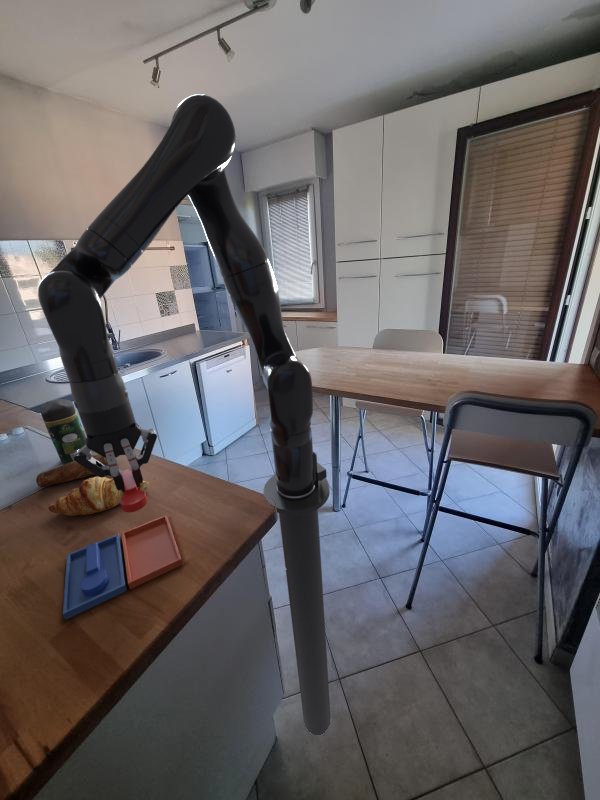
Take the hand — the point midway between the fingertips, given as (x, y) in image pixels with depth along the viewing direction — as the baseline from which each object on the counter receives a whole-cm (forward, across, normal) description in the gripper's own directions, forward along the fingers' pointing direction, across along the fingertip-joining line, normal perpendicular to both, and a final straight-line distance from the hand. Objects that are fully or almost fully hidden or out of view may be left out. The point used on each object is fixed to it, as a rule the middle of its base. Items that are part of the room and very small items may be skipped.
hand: (131, 486), depth 61 cm
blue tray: (+14, +9, +2) cm, 17 cm away
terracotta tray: (+14, 0, +2) cm, 14 cm away
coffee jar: (+14, +14, -48) cm, 52 cm away
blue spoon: (+14, +10, +2) cm, 17 cm away
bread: (+14, +12, -36) cm, 41 cm away
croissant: (+14, +8, -20) cm, 26 cm away
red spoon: (0, 0, +2) cm, 2 cm away
